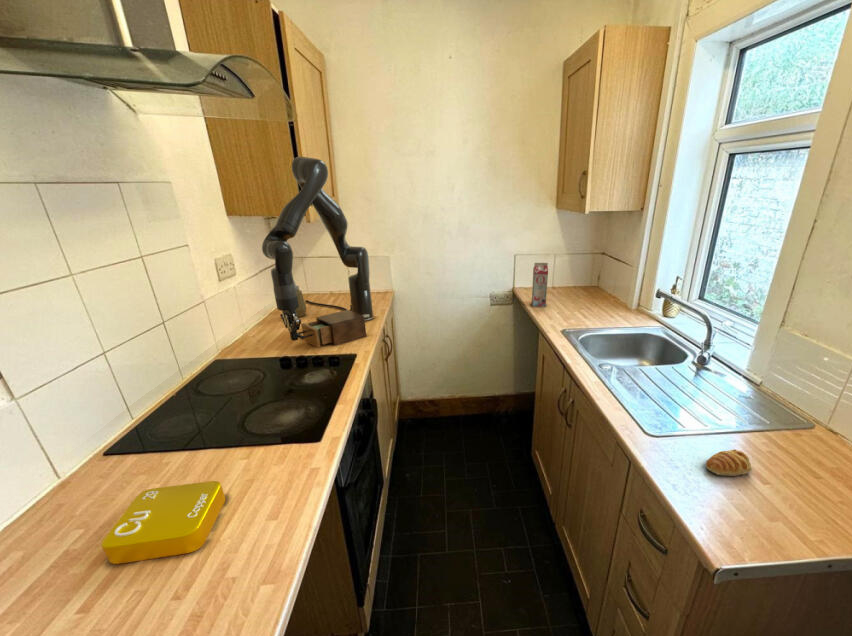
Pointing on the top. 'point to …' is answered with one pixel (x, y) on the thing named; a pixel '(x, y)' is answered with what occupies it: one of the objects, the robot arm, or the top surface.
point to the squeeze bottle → (300, 303)
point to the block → (318, 329)
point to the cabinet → (345, 326)
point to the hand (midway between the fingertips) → (294, 339)
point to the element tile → (165, 522)
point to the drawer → (316, 333)
